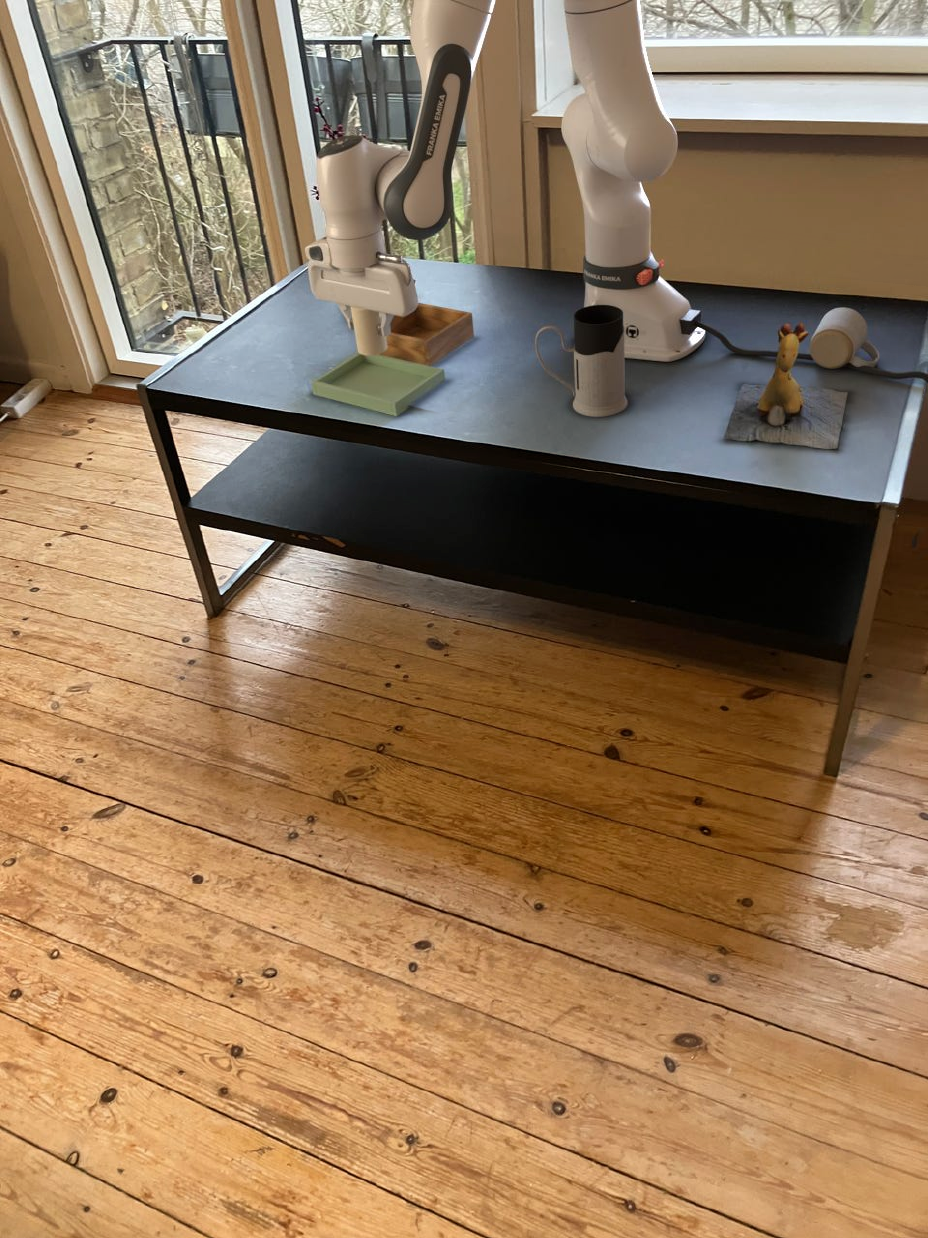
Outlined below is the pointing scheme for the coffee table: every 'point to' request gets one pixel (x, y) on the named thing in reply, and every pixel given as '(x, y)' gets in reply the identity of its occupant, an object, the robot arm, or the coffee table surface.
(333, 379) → the tray
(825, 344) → the ceramic mug
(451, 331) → the wooden box
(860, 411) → the coffee table surface
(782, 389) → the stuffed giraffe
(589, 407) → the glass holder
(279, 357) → the coffee table surface
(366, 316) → the candle
